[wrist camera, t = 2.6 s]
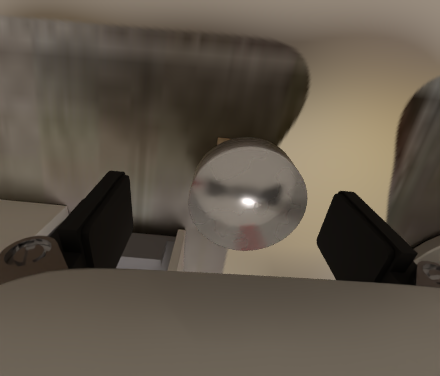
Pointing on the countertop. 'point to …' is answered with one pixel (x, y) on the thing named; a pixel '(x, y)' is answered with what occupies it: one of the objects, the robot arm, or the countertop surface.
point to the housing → (28, 220)
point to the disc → (246, 194)
